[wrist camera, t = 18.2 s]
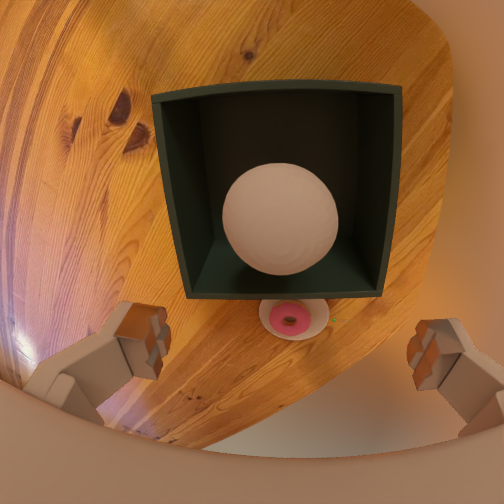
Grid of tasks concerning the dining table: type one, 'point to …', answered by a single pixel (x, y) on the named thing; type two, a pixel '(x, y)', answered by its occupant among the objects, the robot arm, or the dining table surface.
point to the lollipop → (280, 218)
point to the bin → (290, 152)
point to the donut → (294, 317)
